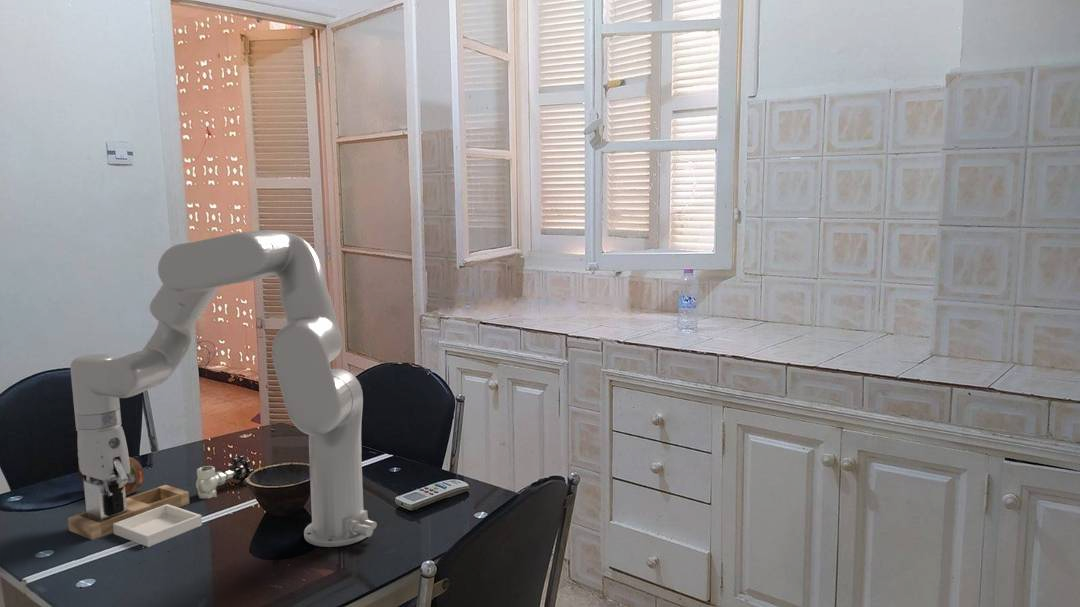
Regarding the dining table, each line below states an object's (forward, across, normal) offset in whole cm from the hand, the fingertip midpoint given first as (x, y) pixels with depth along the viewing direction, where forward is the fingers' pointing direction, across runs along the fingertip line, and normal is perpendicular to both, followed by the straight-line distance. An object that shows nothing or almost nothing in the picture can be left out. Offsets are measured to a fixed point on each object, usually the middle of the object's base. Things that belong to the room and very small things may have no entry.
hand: (106, 509), depth 147 cm
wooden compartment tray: (+4, 0, -5) cm, 6 cm away
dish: (+4, -10, -4) cm, 12 cm away
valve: (+4, -3, -23) cm, 24 cm away
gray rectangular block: (+3, 0, 0) cm, 3 cm away
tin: (+4, +17, -11) cm, 21 cm away
